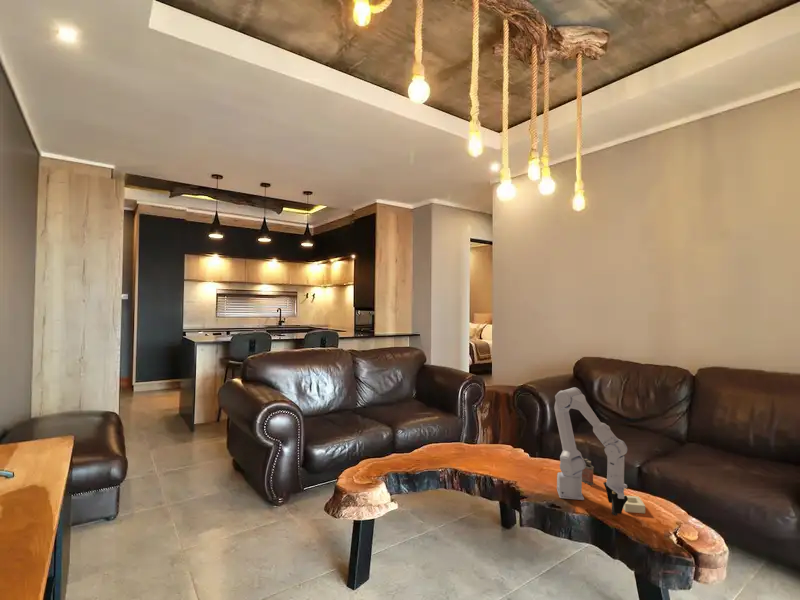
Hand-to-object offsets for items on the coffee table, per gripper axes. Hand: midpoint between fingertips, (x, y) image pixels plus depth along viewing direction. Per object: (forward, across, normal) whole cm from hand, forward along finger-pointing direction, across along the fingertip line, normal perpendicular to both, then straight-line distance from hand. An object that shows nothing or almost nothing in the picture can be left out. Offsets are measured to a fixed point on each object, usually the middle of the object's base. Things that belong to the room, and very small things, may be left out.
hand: (614, 507), depth 161 cm
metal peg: (+2, 0, 0) cm, 2 cm away
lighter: (+3, +26, +5) cm, 27 cm away
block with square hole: (+2, +6, -8) cm, 10 cm away
